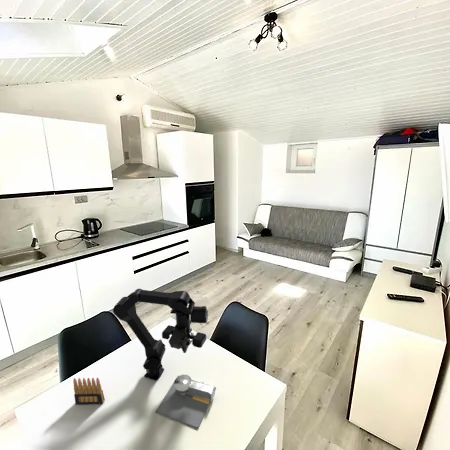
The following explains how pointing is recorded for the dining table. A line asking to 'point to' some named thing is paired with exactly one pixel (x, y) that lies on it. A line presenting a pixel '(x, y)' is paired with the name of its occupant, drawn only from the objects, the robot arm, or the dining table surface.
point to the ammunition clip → (88, 392)
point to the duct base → (183, 407)
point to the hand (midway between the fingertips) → (185, 352)
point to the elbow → (194, 388)
